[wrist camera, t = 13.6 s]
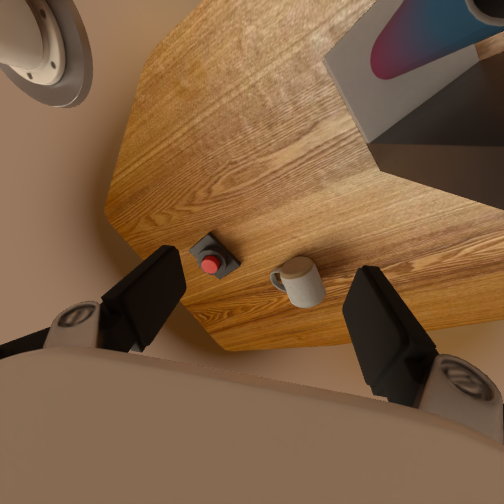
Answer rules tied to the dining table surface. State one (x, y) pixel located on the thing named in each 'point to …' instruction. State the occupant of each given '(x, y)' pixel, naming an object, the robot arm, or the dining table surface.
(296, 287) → the ceramic mug
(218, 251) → the pad
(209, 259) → the button
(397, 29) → the cup
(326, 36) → the dining table surface
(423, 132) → the coffee maker
